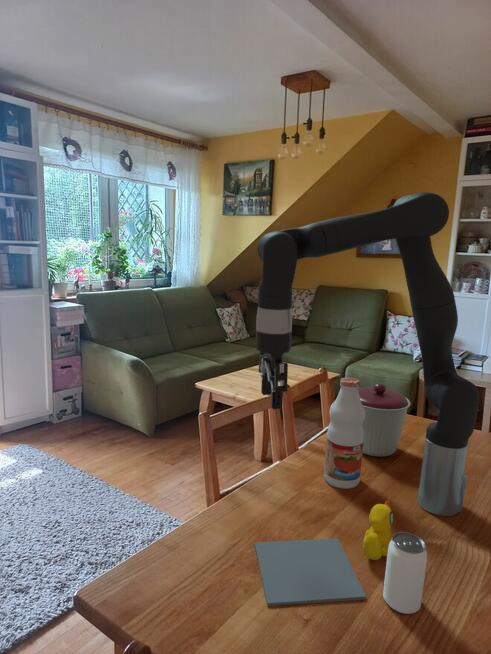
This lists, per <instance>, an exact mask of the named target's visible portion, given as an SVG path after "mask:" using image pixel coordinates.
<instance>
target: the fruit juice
mask: <svg viewBox="0 0 491 654" xmlns="http://www.w3.org/2000/svg"><path fill="white" fill-rule="evenodd" d="M360 385H361V382H360V380H359V379H357V378H354V377H342V378H340V381H339V386H340V389H339V391H338V394H337V397H336V399H335V400H334V401H333V402H332V404H331V406H330V407H329V419H330V423H329V424H328V427H327V431H326V432H327V434H326V446H325V456H324V457H325V459H324V470H323V471H324V472H323V476H324V480H325V481H326V483H328V484H329V485H331V486H332V487H335V488H338V489H346V490H347V489H353V488H356V487H357V486H358V485H359V483H360V481H361V473H362V472H361V471H362V460H363V453H362V452H363V442H364V429H363V422H364V420H365V409H364V407H363V405H362V403H361V400H360V396H359V392H358V388H360Z"/></svg>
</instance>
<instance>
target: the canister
mask: <svg viewBox="0 0 491 654" xmlns="http://www.w3.org/2000/svg"><path fill="white" fill-rule="evenodd" d="M358 392H359V396H360V400H361V403H362V405H363V407H364V409H365V420H364V422H363V429H364V442H363V452H362V454H364V455H367V456H370V457H378V458H379V457H381V458H383V457H388V456H391V455H393V454H394V453H395V452H396V451H397V449H398V447H399V444H400V440H401V437H402V432H403V429H404V424H405V420H406V416H407V412H408V409H409V408H410V406H411V401H410V400H409V399H408V398H407V397H406V396H404V395H403V394H401V393H400V392H398V391H396V390H393V389H389V388H387V387H386V385H384V383H380V382H378V383H376V384H374V386H364V387H359V388H358Z"/></svg>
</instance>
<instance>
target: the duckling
mask: <svg viewBox="0 0 491 654" xmlns="http://www.w3.org/2000/svg"><path fill="white" fill-rule="evenodd" d="M391 507H392V506H391V502H390V500H386V501H385V502H384V504H383V503H377V504H375V505H373V506H372V508H371V509H370V512H369V515H368V516H369V517H368V521H369V525H370V528H369V529H367V530H366V531H365V535H364V539H363V542H362V546H363V547H362V552H363V554H364V556H365V557H366V558H367V559H370V560H372V561H377V560H379V559H381V558H382V557H387V555H388V547H389V543H390V541H391V540H392V531H391V527H392V525H393V521H394V514H393V511H392V508H391Z"/></svg>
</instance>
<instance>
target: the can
mask: <svg viewBox="0 0 491 654" xmlns="http://www.w3.org/2000/svg"><path fill="white" fill-rule="evenodd" d="M426 548H427V546H426V543H425V541H424V540H423V539H422V538H421V537H419V536H418V535H416V534H414V533H411V532H408V531H407V532H405V531H400V532H399V531H398V532H396V533H393V535H391V541H390V543H389V547H388V554H387V555H386V563H385V564H386V566H385V573H384V583H383V592H382V594H383V600H384V601H385V603H386V604H387V605H388V606H389V607H390V608H391V609H392V610H393V611H395V612H397V613H400V614H404V615H412V614H415V613H418V612H419V610H420V609H421V605H422V600H423V593H424V586H425V585H424V584H425V578H426V571H427V570H426V569H427V564H428V563H427V562H428V553H427V549H426Z"/></svg>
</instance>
